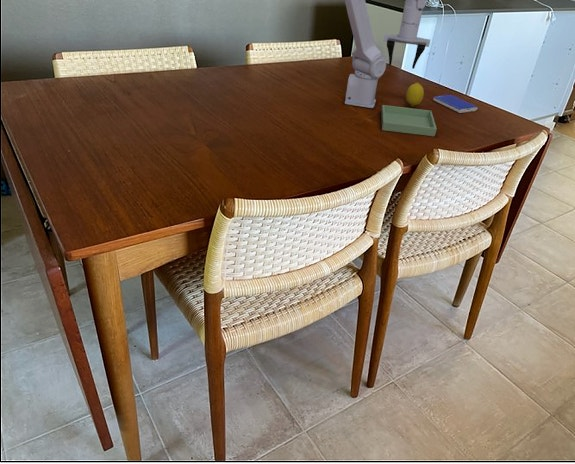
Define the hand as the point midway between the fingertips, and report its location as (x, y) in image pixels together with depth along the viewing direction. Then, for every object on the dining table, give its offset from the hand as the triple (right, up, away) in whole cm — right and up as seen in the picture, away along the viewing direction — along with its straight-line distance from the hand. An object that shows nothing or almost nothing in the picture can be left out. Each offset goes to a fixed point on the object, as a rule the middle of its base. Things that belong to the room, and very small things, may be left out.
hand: (401, 66), depth 156 cm
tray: (-2, -23, -15) cm, 27 cm away
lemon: (+3, -14, -1) cm, 15 cm away
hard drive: (+19, -13, +3) cm, 23 cm away
